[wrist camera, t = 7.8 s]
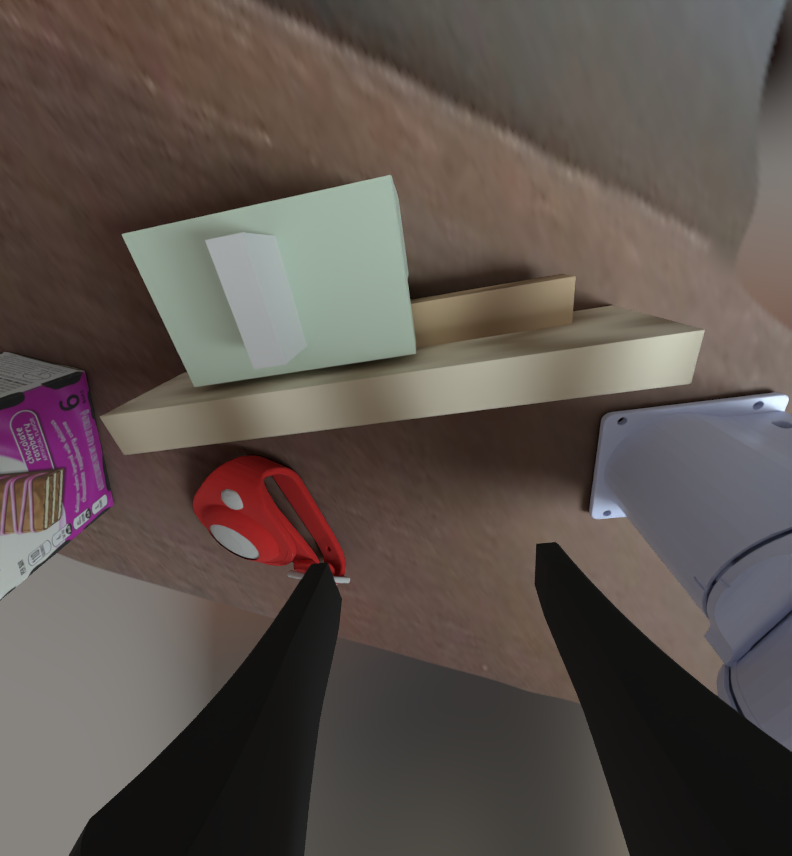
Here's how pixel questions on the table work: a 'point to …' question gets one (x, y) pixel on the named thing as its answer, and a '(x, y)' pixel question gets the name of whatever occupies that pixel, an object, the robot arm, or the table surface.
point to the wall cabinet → (283, 283)
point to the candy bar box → (45, 464)
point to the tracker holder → (265, 517)
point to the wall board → (431, 371)
